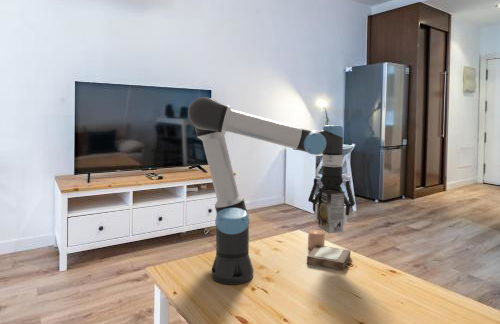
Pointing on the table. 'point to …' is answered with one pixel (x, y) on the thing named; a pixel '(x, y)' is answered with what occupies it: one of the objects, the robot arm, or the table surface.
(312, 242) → the peach glossy stubby part
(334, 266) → the walnut picture frame
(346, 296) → the table surface
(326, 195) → the coffee box
